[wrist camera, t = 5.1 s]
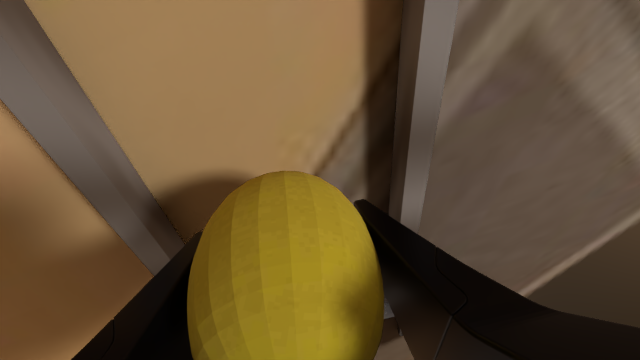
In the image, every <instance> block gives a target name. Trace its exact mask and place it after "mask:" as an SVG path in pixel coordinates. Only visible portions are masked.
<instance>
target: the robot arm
mask: <svg viewBox="0 0 640 360" xmlns="http://www.w3.org/2000/svg"><path fill="white" fill-rule="evenodd" d="M354 207H355V208H356V209H357V211H358V212H359V214H360V215H361V217H362V219H363V221H364V223H365V225H366V227H367V230H368V232H369V234H370V237H371V239H372V242H373V244H374V247H375V250H376V253H377V256H378V260H379V264H380V269H381V274H382V280H383V290H384V295H385V297H386V299H387V301H388V303H389V306H390V308H391V310H392V312H393V314H394V316H395V319H396V321H397V323H398V333H399V335H400V336H404V338H405V340H406V342H407V344H408V347H409V349H410V351H411V353H412V355H413V357H414V360H640V328H638V327H633V326H629V325H624V324H619V323H614V322H609V321H604V320H599V319H594V318H589V317H585V316H580V315H575V314H570V313H565V312H561V311H557V310H553V309H550V308H547V307H545V306H542V305H540V304H538V303H535V302H533V301H531V300H529V299H527V298H525V297H523V296H521V295H520V294H518V293H516V292H514V291H512V290H510V289H509V288H507V287H505V286H503V285H501V284H499V283H498V282H496V281H494V280H492V279H490V278H488V277H487V276H485V275H483V274H481V273H479V272H478V271H476V270H474V269H472V268H471V267H469V266H467V265H465V264H464V263H462V262H460V261H459V260H457V259H455V258H454V257H452V256H451V255H449V254H447V253H446V252H444V251H443V250H441V249H440V248H438V247H436V246H435V245H434V244H432V243H430V242H429V241H427V240H426V239H424V238H423V237H421V236H420V235H418V234H417V233H415V232H414V231H412V230H411V229H409V228H408V227H406V226H405V225H403V224H401V223H400V222H398V221H397V220H395V219H394V218H392V217H391V216H389V215H388V214H386V213H385V212H383V211H382V210H380V209H379V208H377V207H376V206H374V205H372V204H371V203H369V202H368V201H366V200H364V199H362V200H357V201H355V202H354ZM202 233H203V231H202V232H198V233H197V234H195V236H194V237H193V238H192V239H191V240H190V241H189V242H188V243H187V244H186V245H185V246H184V247H183V248H182V249H181V250H180V251H179V252H178V253H177V254H176V255H175V256H174V257H173V258H172V259H171V260H170V261H169V262H168V263H167V264H166V265H165V266H164V267H163V268H162V269H161V270H160V271H159V272H158V273H157V274H156V275H155V276H154V277H153V278H152V279H151V280H150V281H149V282H148V283H147V284H146V285H145V286H144V287H143V288H142V289H141V290H140V291H139V292H138V293H137V294H136V295H135V296H134V298H133V299H132V300H131V301H130V302H129V303H128V304H127V305H126V306H125V307H124V308H123V309H122V310H121V311H120V312H119V313H118V314H117V315H116V316H115V317H114V319H113V320H111V321H110V322H109V323H108V324H107V325H106V326H105V327H104V328H103V329H102V330H101V331H100V332H99V333H98V334H97V335H96V336H95V337H94V338H93V339H92V340H91V341H90V342H89V343H88V344H87V345H86V346H85V347H84V348H83V349H82V350H81V351H80V352H79V353H78V354H76V355H75V356H74V357H73V358H72V359H71V360H194V359H193V356H192V353H191V347H190V341H189V332H188V319H187V293H188V283H189V276H190V270H191V266H192V262H193V258H194V255H195V252H196V250H197V247H198V244H199V241H200V239H201V236H202Z"/></svg>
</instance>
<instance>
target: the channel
mask: <svg viewBox="0 0 640 360" xmlns="http://www.w3.org/2000/svg"><path fill="white" fill-rule="evenodd" d="M458 4H459V0H403V13H402V27H401V42H400V56H399V70H398V85H397V99H396V114H395V128H394V142H393V157H392V171H391V186H390V200H389V214H388V215H389V216H391V217H392V218H394V219H395V220H397V221H398V222H400V223H401V224H403V225H405V226H406V227H408V228H409V229H411V230H412V231H414V232H415V233H417V234H418V231H419V225H420V219H421V214H422V208H423V202H424V197H425V191H426V185H427V180H428V174H429V168H430V163H431V157H432V152H433V146H434V140H435V135H436V129H437V123H438V118H439V112H440V106H441V101H442V95H443V89H444V84H445V78H446V72H447V67H448V61H449V55H450V50H451V44H452V38H453V33H454V27H455V21H456V16H457V10H458ZM0 99H1V100H2V101H3V102H4V104H5V105H6V106H7V107H8V108H9V109H10V111H11V112H12V113H13V114H14V115H15V116H16V117H17V119H18V120H19V121H20V122H21V123H22V124H23V126H24V127H25V128H26V129H27V130H28V131H29V132H30V134H31V135H32V136H33V137H34V138H35V139H36V140H37V142H38V143H39V144H40V145H41V146H42V147H43V149H44V150H45V151H46V152H47V153H48V154H49V155H50V157H51V158H52V159H53V160H54V161H55V162H56V164H57V165H58V166H59V167H60V168H61V169H62V170H63V172H64V173H65V174H66V175H67V176H68V177H69V179H70V180H71V181H72V182H73V183H74V184H75V185H76V187H77V188H78V189H79V190H80V191H81V192H82V193H83V195H84V196H85V197H86V198H87V199H88V200H89V202H90V203H91V204H92V205H93V206H94V207H95V208H96V210H97V211H98V212H99V213H100V214H101V215H102V217H103V218H104V219H105V220H106V221H107V222H108V223H109V225H110V226H111V227H112V228H113V229H114V230H115V232H116V233H117V234H118V235H119V236H120V237H121V238H122V240H123V241H124V242H125V243H126V244H127V245H128V247H129V248H130V249H131V250H132V251H133V252H134V253H135V255H136V256H137V257H138V258H139V259H140V260H141V261H142V263H143V264H144V265H145V266H146V267H147V268H148V270H149V271H150V272H151V273H152V274H153V275H154V276H155V275H156V274H157V273H158V272H159V271H160V270H161V269H162V268H163V267H164V266H165V265H166V264H167V263H168V262H169V261H170V260H171V259H172V258H173V257H174V256H175V255H176V254H177V253H178V252H179V251H180V250H181V249H182V248H183V247H184V246H185V244H184V243H183V241H182V240H181V238H180V237H179V235H178V234H177V232H176V231H175V229H174V228H173V226H172V225H171V223H170V222H169V220H168V219H167V217H166V215H165V214H164V212H163V211H162V209H161V208H160V206H159V205H158V203H157V202H156V200H155V199H154V197H153V196H152V194H151V193H150V191H149V190H148V188H147V187H146V185H145V184H144V182H143V181H142V179H141V178H140V176H139V175H138V173H137V171H136V170H135V168H134V167H133V165H132V164H131V162H130V161H129V159H128V158H127V156H126V155H125V153H124V152H123V150H122V149H121V147H120V146H119V144H118V143H117V141H116V140H115V138H114V137H113V135H112V134H111V132H110V131H109V129H108V127H107V126H106V124H105V123H104V121H103V120H102V118H101V117H100V115H99V114H98V112H97V111H96V109H95V108H94V106H93V105H92V103H91V102H90V100H89V99H88V97H87V96H86V94H85V93H84V91H83V90H82V88H81V87H80V85H79V83H78V82H77V80H76V79H75V77H74V76H73V74H72V73H71V71H70V70H69V68H68V67H67V65H66V64H65V62H64V61H63V59H62V58H61V56H60V55H59V53H58V52H57V50H56V49H55V47H54V46H53V44H52V42H51V41H50V39H49V38H48V36H47V35H46V33H45V32H44V30H43V29H42V27H41V26H40V24H39V23H38V21H37V20H36V18H35V17H34V15H33V14H32V12H31V11H30V9H29V8H28V6H27V5H26V3H25V2H24V0H0ZM390 317H394V314H393V312H392V310H391V308H390V306H389V303H388V301H387V299H386V297H385V295H384V319H387V318H390Z"/></svg>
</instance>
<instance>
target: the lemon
mask: <svg viewBox="0 0 640 360" xmlns="http://www.w3.org/2000/svg"><path fill="white" fill-rule="evenodd" d="M187 319H188V332H189V341H190V347H191V353H192V356H193V359H194V360H373V359H374V357H375V355H376V353H377V350H378V347H379V343H380V340H381V337H382V331H383V324H384V290H383V280H382V274H381V269H380V264H379V260H378V256H377V253H376V250H375V247H374V244H373V242H372V239H371V237H370V234H369V232H368V230H367V227H366V225H365V223H364V221H363V219H362V217H361V215H360V214H359V212H358V211H357V209H356V208H355V207H354V206H353V204H352V203H351V202H350V201H349V200H348V199H347V198H346V197H345V196H344V195H343V194H342V193H341V192H340V191H339V190H338V189H337V188H336V187H334V186H333V185H331V184H329V183H328V182H326V181H324V180H322V179H321V178H319V177H317V176H313V175H310V174H307V173H303V172H297V171H279V172H272V173H267V174H264V175H261V176H259V177H256V178H253V179H251V180H248V181H247V182H245V183H244V184H243V185H241V186H240V187H238V188H237V189H235V190H234V191H233V192H231V193H230V194H229V195H228V196H227V197H226V198H225V200H224V201H223V202H222V203H221V205H220V206H219V207H218V208H217V209H216V211H215V212H214V213H213V215H212V216H211V218H210V219H209V221H208V223H207V225H206V227H205V229H204V231H203V233H202V236H201V239H200V241H199V244H198V247H197V250H196V252H195V255H194V258H193V262H192V266H191V270H190V276H189V283H188V293H187Z"/></svg>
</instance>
